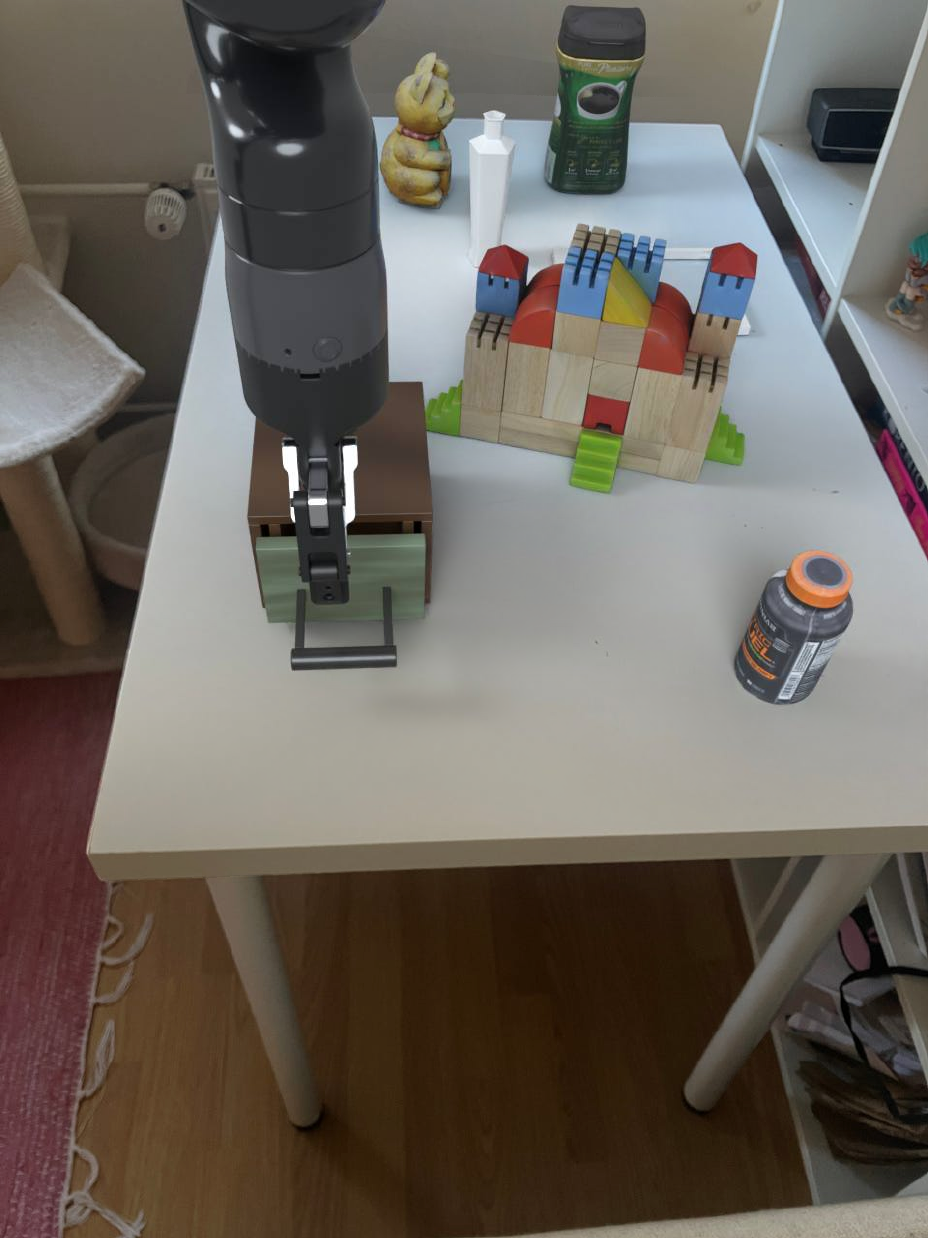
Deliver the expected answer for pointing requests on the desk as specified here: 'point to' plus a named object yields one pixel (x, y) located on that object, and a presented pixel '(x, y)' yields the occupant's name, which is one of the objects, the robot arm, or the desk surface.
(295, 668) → the drawer
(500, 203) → the perfume bottle
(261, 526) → the cabinet
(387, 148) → the decorative figurine
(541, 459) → the desk surface
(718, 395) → the block set
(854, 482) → the desk surface
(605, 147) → the coffee jar
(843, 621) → the pill bottle
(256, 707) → the desk surface
